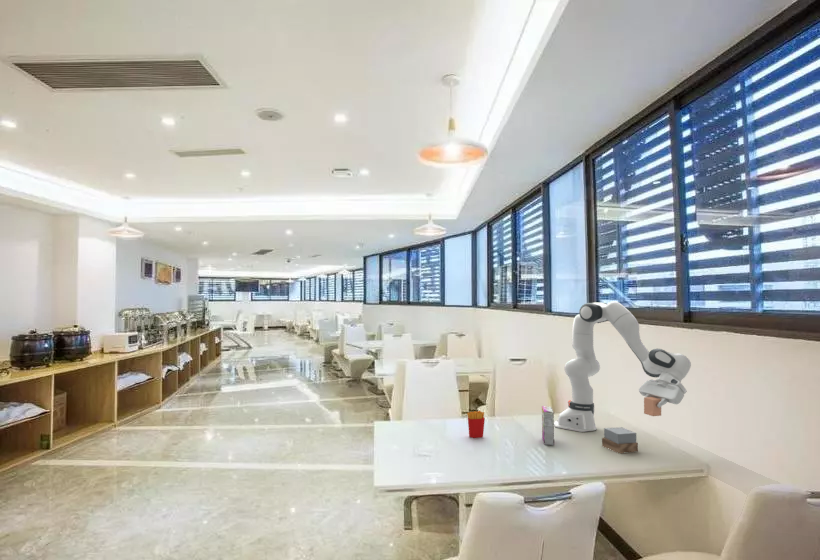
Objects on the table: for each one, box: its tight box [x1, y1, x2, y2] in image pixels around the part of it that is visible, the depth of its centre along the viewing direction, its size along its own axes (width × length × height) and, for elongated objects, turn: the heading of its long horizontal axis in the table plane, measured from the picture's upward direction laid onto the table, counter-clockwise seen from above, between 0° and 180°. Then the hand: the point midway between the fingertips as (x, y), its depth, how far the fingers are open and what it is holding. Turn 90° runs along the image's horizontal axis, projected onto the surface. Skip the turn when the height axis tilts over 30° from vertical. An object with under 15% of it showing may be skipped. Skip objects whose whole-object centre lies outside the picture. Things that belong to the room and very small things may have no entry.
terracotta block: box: [643, 396, 662, 417], centre depth 205 cm, size 5×5×8 cm
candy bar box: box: [541, 405, 555, 446], centre depth 221 cm, size 11×5×16 cm, turn 168°
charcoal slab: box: [603, 426, 637, 444], centre depth 212 cm, size 10×10×4 cm
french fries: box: [466, 410, 485, 439], centre depth 228 cm, size 9×4×13 cm, turn 104°
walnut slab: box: [601, 437, 639, 454], centre depth 212 cm, size 11×11×4 cm
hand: (651, 405), depth 205 cm, fingers closed on terracotta block, 5 cm apart
